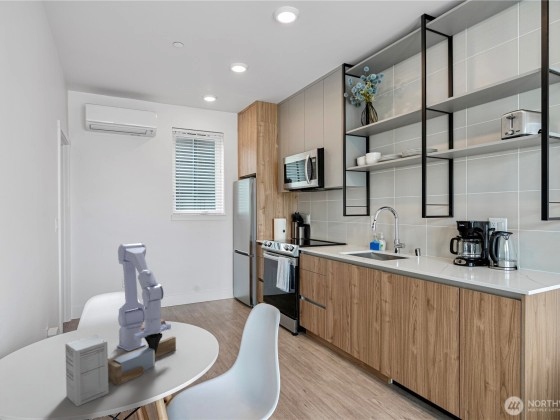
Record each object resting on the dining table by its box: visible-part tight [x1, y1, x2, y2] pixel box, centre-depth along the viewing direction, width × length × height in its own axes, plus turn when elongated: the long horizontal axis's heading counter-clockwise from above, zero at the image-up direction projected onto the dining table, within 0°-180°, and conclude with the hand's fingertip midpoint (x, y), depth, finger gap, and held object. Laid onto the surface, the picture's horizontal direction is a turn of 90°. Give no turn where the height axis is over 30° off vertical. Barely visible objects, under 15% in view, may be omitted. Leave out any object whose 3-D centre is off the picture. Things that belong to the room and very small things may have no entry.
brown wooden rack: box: [108, 336, 177, 386], centre depth 127 cm, size 10×30×6 cm, turn 144°
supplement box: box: [64, 334, 109, 407], centre depth 106 cm, size 10×9×17 cm
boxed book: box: [114, 346, 156, 374], centre depth 122 cm, size 4×13×6 cm, turn 144°
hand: (153, 353), depth 128 cm, fingers closed
